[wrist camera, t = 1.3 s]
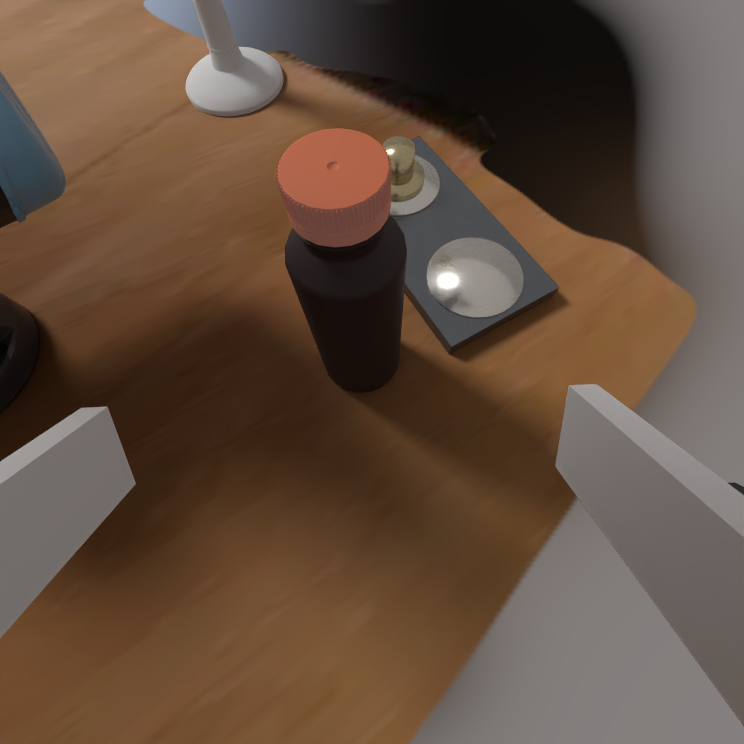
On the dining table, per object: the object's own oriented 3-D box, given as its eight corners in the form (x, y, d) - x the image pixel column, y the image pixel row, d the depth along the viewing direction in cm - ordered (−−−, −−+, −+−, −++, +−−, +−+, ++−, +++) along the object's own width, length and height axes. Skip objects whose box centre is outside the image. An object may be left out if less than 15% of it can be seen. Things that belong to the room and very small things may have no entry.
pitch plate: (328, 188, 42) (320, 140, 37) (418, 148, 44) (423, 97, 39) (449, 354, 34) (460, 323, 29) (552, 296, 36) (581, 257, 31)
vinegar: (334, 402, 33) (266, 247, 14) (317, 336, 35) (242, 130, 17) (408, 382, 33) (436, 206, 15) (386, 318, 36) (388, 99, 17)
